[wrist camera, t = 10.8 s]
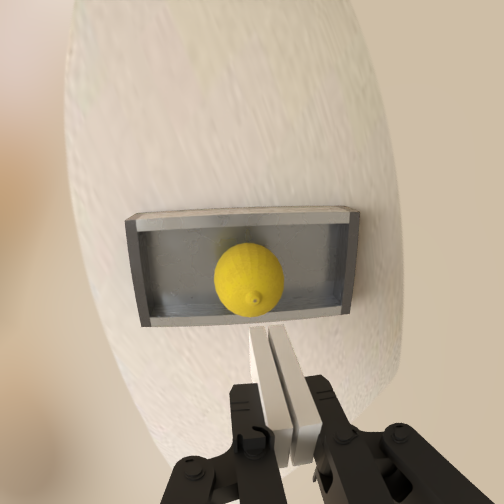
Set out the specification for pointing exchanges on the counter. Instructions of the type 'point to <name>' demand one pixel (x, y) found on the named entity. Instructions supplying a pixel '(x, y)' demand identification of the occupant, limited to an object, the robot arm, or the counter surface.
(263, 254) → the lemon
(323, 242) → the tray
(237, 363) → the counter surface
